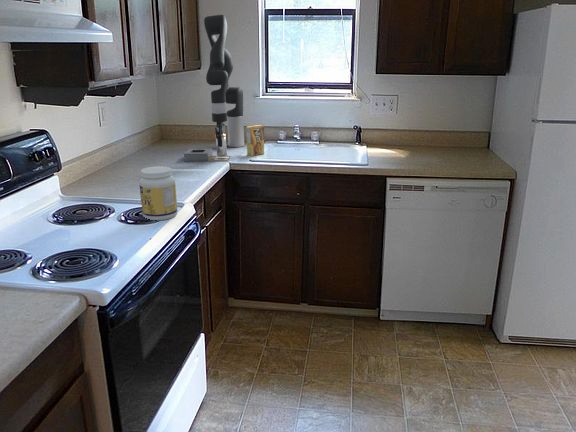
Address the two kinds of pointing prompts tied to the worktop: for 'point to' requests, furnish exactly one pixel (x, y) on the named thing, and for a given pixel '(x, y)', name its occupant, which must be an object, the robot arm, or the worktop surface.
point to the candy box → (255, 140)
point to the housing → (198, 155)
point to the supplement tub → (158, 193)
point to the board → (215, 159)
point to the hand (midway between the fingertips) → (221, 145)
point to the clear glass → (221, 150)
